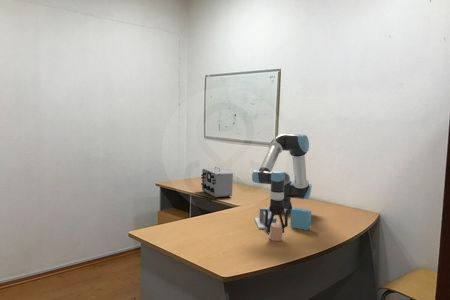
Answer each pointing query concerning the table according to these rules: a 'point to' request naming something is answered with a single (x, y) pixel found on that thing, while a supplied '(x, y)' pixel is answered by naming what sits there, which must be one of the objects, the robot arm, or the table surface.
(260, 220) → the grey flanged post
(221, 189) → the vintage electronic device
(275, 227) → the pink block
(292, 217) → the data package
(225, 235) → the table surface
